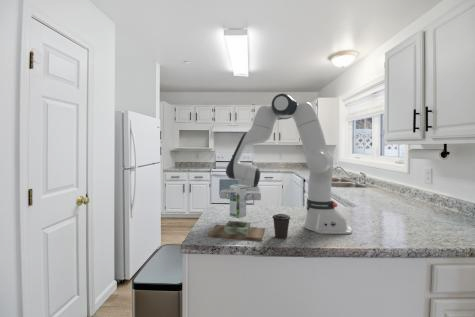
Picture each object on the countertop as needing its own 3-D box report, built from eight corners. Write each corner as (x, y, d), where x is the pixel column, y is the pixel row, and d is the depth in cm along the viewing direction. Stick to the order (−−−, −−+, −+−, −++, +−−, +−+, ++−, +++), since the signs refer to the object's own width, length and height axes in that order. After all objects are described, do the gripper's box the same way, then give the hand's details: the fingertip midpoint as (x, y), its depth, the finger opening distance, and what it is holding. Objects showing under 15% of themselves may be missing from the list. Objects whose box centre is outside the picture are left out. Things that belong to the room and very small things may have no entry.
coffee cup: (276, 240, 116) (276, 218, 116) (269, 234, 124) (269, 213, 124) (293, 238, 119) (293, 216, 118) (285, 232, 126) (285, 212, 126)
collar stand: (264, 230, 130) (264, 221, 130) (261, 240, 116) (261, 231, 116) (216, 227, 134) (216, 218, 134) (208, 236, 121) (208, 227, 120)
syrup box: (229, 216, 125) (229, 185, 124) (237, 214, 129) (237, 183, 128) (237, 218, 121) (237, 186, 120) (246, 216, 125) (246, 185, 124)
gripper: (223, 185, 139) (215, 190, 125) (262, 186, 135) (259, 192, 121) (223, 197, 139) (215, 203, 126) (262, 199, 135) (259, 205, 122)
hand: (237, 197), depth 123 cm, fingers closed on syrup box, 7 cm apart
